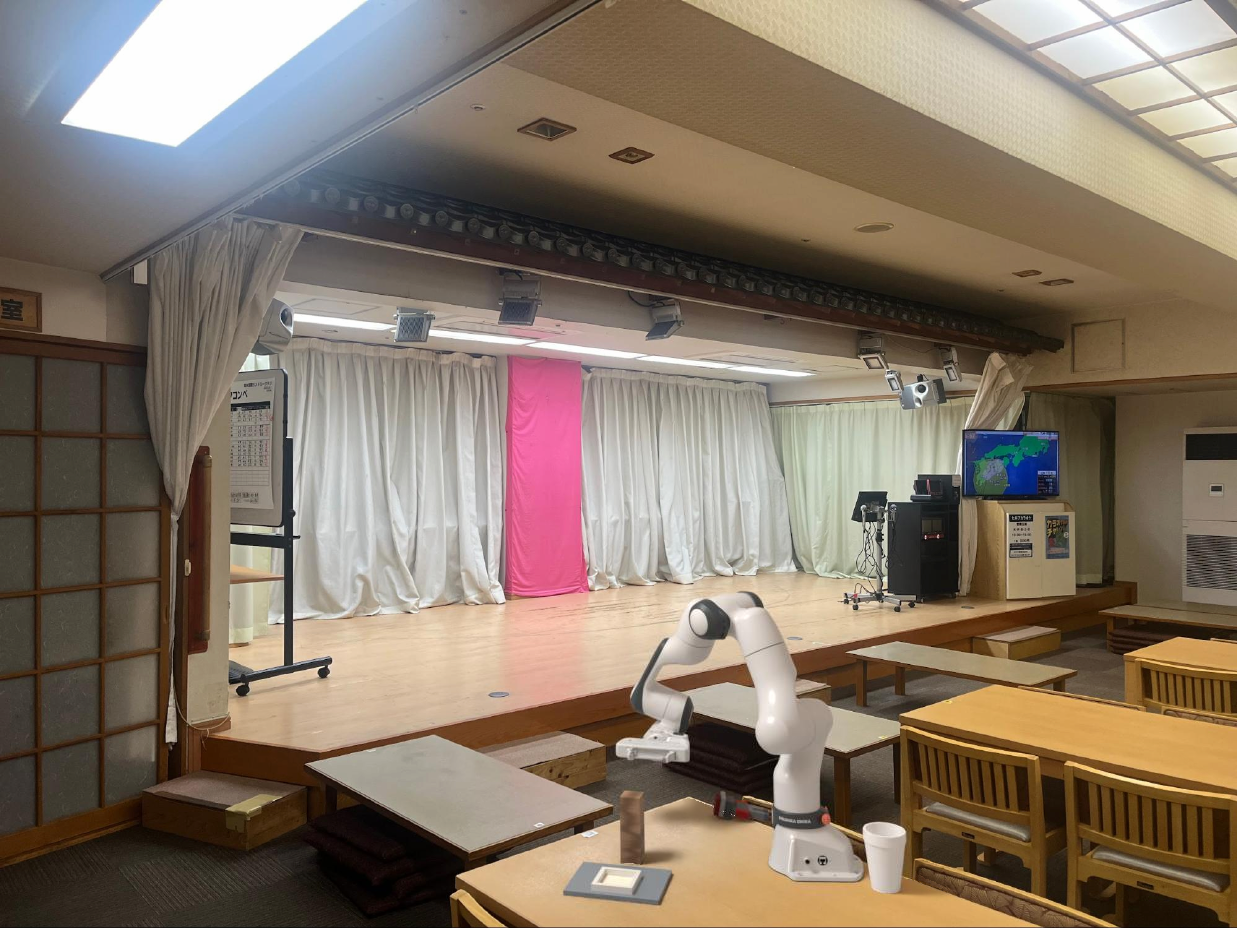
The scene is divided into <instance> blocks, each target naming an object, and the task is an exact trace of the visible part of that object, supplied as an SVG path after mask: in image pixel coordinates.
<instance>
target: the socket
mask: <svg viewBox="0 0 1237 928" xmlns="http://www.w3.org/2000/svg"><path fill="white" fill-rule="evenodd" d="M640 879H641V870H632V869H622V868H612V867H602V868H601V869H600V871H599V873H598V874H597V876H596V877H595V879H594V880H593V882H592V883H591V891H599V892H608V893H618V894H627V895H632V894H633V892H634V890H635V888H636V886H637V885H638V883H639V881H640Z"/></svg>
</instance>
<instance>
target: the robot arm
mask: <svg viewBox="0 0 1237 928" xmlns="http://www.w3.org/2000/svg"><path fill="white" fill-rule="evenodd" d="M727 637H731V638H733V639H735V640H736V642H737V644H738V645H739V647H740V650H741V652H742V655H743V656H742V657H743V659H744V661H745V663H746V666H747V669H748V672H749V674H750V676H751V679H752V683H753V684H754V688H755V693H756V698H757V708H758V709H757V710H758V717H757V722H756V723H755V724H756V725H755V730H754V731H755V738H756V741H757V742H758V745H759V746H760V748H762V750H764V751H765V752H766V753H768V754H770V755H774V756H776V755H777V756H779V758H778V762H777V763H776V766H775V768H774V771H773V802H772V808H771V824H772V829H773V832H772V841H771V842H772V843H771V850H770V855H769V858H768V865H769V867H771V869H773V870H774V871H776V872H778V873H780V874H782V875H785V876H787V877H788V878H789V879H791V880H793V881H795V882H797V881H798V882H858V881H859V880H861V879H862V878H863V876H864V873H865V872H864V871H865V869H864V863H863V861H862V859H861V858H860V857H859V856H857V855H856V854H855V853H854V849H853V846H852V844H851V843H852V842H851V841H850V838H848V837H847V835H846V834H844V833H843V832H842V831H841V830H839V829H838V828H836V826H834V825H833V824H832V823H831V816H830V812H829V810H828V808H827V806H825V807H824V806H823V805H821V795H820V794H821V789H820V788H821V787H820V786H821V783H820V781H821V779H820V778H821V768H822V763H823V758H824V752H825V748H826V742H827V740H828V736H829V734H830V731H831V730H832V727H833V724H834V716H833V713H832V711H831V709H830V706H828V705H827V703H826V702H825V701H823V700H822V699H819V698H813V697H803V698H797V692H796V678H797V677H798V675H797V674H798V673H797V671H798V670H797V668H796V666H795V663H794V661H793V659H792V656H791V653H790V651H789V649H788V646H787V644H786V641H785V639H784V636H783V635H782V632H781V631H780V629H779V627H778V624H776V622H775V620H774V619H773V616H772V615H771V614H770V612H769V610H767V609H766V608H765V606H764V603H763V601H762V599H761V598H760V597H759V596H758V594H757V593H754V592H753V591H748V590H747V591H746V590H741V591H737V592H731V593H721V594H718V595H717V594H716V595H714V596H712V597H709V598H704V597H697V598H693V599H692V600H691V599H690V600H689V602H688V603H687V605H686V606H685V608H684V610H683V612H682V614H681V617H680V619H679V621H678V624H677V628H676V630H675V632H674V634H673V635H672V636H671V637H665V638H663V640H661V642H659V645H658V646H657V647H656V650H655V651H654V652H653V654H652V656H651V658H650V660H649V662H648V664H647V665H646V667H645V668H644V671H643V673H642V675H641V677H640V679H639V680H638V681H637V682H636V683H635V685H634V686H633V689H632V690H631V693H630V696H629V698H630V699H629V703H630V706H631V707H632V709H633V711H634V712H635V713H639V714H641V715H644V716H648V717H650V718H653V719H655V720H656V721H655V722H654V723H652V725H651V726H650V727H649V729H648V730H647V731H646V732H645V734H644V735H643V737H642V738H637V737H625V738H622V739H620V740H619V741H618V742H616V744H615V755H616V756H617V757H618V758H627V760H628V761H634V760H635V759H640V760H650V761H654V762H662V763H663V764H664V763H665V764H668V763H670V762H677V763H678V762H679V763H687V762H689V761H690V754H691V753H690V741H689V735H688V734H686V732H687V730H688V728H689V726H690V724H691V722H692V718H693V715H694V710H695V709H694V708H695V707H694V704H693V700H692V698H691V697H690V696H689V695H688V694H685V693H683V692H681V691H678V690H676V689H673V688H670V687H668V686H665V685H663V684H661V683H659V682H658V681H657V680H656V679H657V678H658V675H659V673H660V672H661V670H662V669H663V667H665V666H667V665H680V666H695V665H698V664H701V663H703V662H705V660H707V659H708V658H709V656H710V655H711V653H712V650H713V649H714V645H715V642H716V641H719V640H720V641H723V640H725V639H726V638H727Z"/></svg>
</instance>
